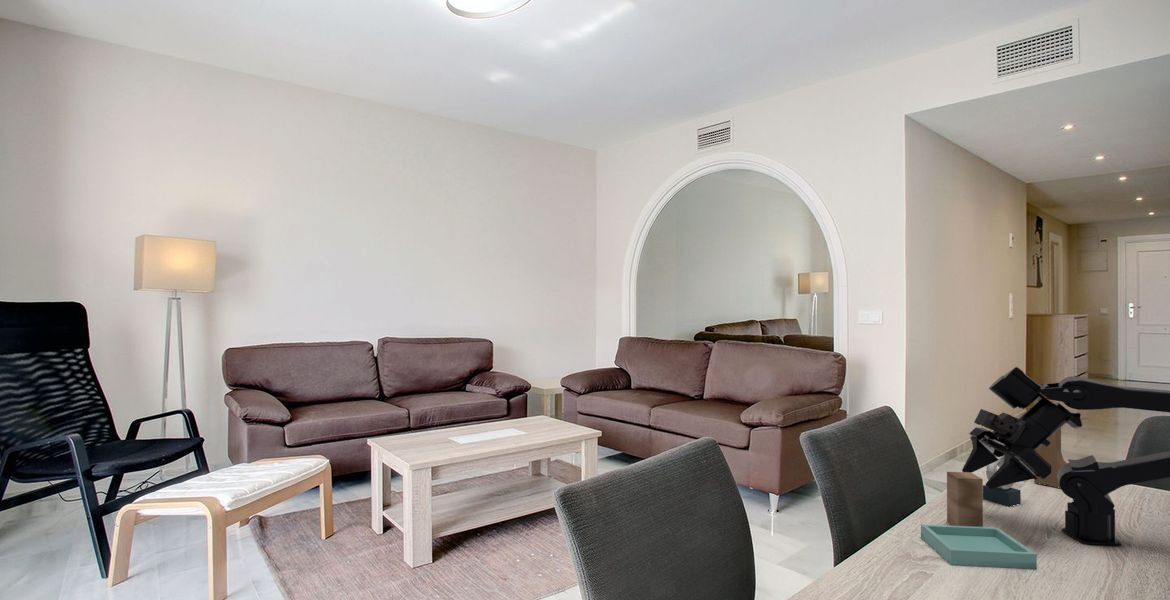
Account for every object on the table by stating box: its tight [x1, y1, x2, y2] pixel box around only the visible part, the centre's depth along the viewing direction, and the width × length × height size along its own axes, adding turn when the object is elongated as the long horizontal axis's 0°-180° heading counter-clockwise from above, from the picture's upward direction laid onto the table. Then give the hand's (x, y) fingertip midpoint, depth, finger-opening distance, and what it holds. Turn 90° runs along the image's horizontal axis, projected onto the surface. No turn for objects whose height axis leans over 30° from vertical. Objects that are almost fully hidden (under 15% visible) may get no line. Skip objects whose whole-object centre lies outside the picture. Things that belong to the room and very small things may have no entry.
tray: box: [920, 523, 1038, 570], centre depth 105 cm, size 14×12×2 cm
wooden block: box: [1033, 427, 1068, 489], centre depth 142 cm, size 9×4×18 cm, turn 39°
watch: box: [983, 456, 1022, 508], centre depth 131 cm, size 6×8×11 cm
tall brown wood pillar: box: [946, 471, 984, 527], centre depth 117 cm, size 4×4×10 cm
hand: (975, 479), depth 117 cm, fingers open, 9 cm apart
